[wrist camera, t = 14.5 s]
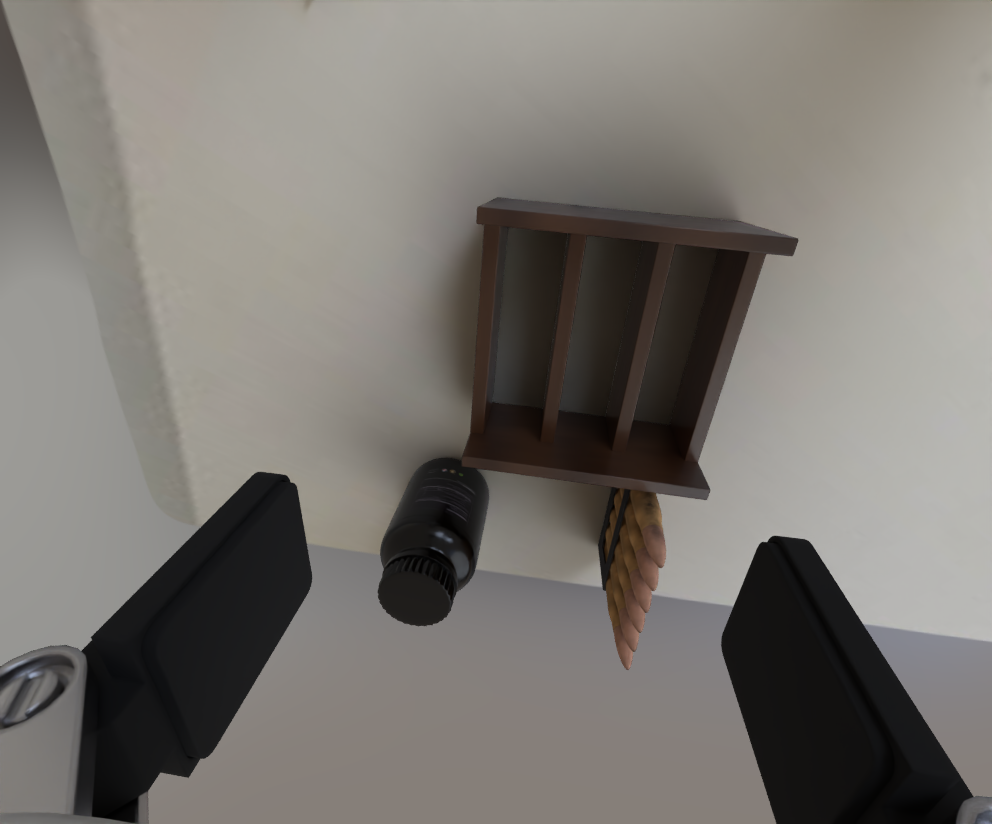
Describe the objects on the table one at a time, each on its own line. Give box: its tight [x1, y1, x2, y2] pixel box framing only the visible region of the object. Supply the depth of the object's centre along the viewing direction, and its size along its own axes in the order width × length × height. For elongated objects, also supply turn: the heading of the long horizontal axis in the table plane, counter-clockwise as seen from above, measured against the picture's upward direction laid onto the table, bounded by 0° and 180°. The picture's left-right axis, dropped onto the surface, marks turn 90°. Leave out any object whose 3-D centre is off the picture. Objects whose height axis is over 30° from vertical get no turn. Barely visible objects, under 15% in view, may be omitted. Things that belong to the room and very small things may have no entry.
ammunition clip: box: [598, 487, 666, 670], centre depth 34 cm, size 11×2×12 cm, turn 175°
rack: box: [462, 197, 798, 500], centre depth 30 cm, size 15×15×8 cm
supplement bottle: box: [378, 458, 489, 626], centre depth 36 cm, size 7×7×12 cm
